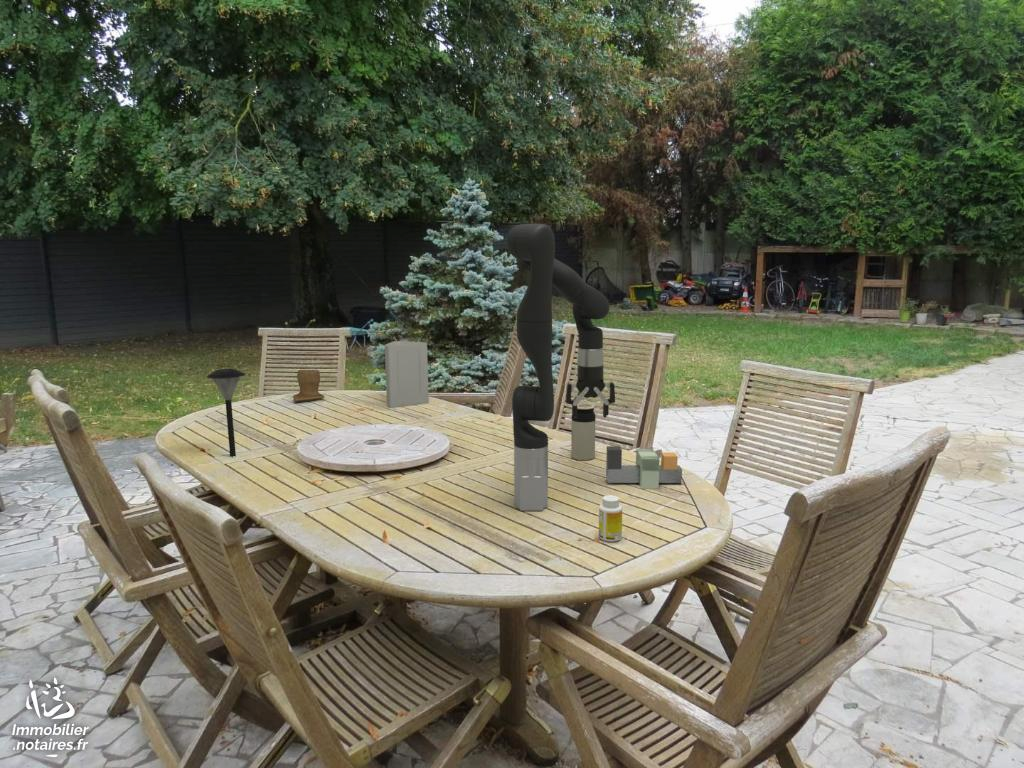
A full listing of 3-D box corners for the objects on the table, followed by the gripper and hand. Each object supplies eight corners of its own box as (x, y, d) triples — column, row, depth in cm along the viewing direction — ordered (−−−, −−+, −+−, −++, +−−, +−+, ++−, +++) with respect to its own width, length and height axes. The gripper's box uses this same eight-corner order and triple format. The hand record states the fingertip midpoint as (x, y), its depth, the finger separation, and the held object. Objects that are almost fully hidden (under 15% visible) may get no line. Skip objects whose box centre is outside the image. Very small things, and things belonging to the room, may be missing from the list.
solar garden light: (212, 454, 239) (204, 369, 233) (249, 449, 244) (243, 366, 238) (215, 463, 228) (207, 374, 222) (254, 458, 233) (247, 371, 228)
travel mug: (598, 456, 234) (599, 404, 231) (588, 462, 227) (589, 409, 224) (577, 452, 238) (578, 402, 235) (567, 458, 231) (567, 406, 228)
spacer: (677, 469, 204) (677, 456, 203) (663, 469, 204) (664, 456, 203) (674, 465, 208) (674, 452, 207) (660, 465, 208) (661, 452, 207)
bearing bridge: (658, 488, 202) (659, 459, 200) (641, 488, 202) (642, 459, 200) (651, 476, 212) (652, 448, 210) (635, 476, 212) (636, 448, 211)
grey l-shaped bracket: (681, 482, 205) (682, 449, 203) (607, 482, 205) (608, 449, 203) (678, 478, 209) (680, 446, 207) (606, 478, 209) (606, 446, 207)
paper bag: (416, 397, 331) (414, 339, 326) (429, 403, 318) (427, 343, 313) (378, 402, 321) (376, 342, 316) (390, 408, 309) (388, 346, 303)
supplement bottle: (626, 537, 167) (627, 497, 165) (612, 544, 163) (613, 503, 161) (607, 531, 171) (608, 492, 169) (593, 538, 167) (594, 498, 165)
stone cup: (318, 396, 336) (316, 365, 333) (327, 400, 326) (325, 369, 323) (287, 400, 327) (285, 369, 324) (295, 404, 317) (293, 372, 315)
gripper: (567, 366, 196) (567, 421, 199) (617, 365, 196) (616, 419, 199) (564, 361, 203) (565, 414, 206) (612, 360, 203) (612, 413, 207)
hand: (590, 417), depth 203 cm, fingers open, 8 cm apart
